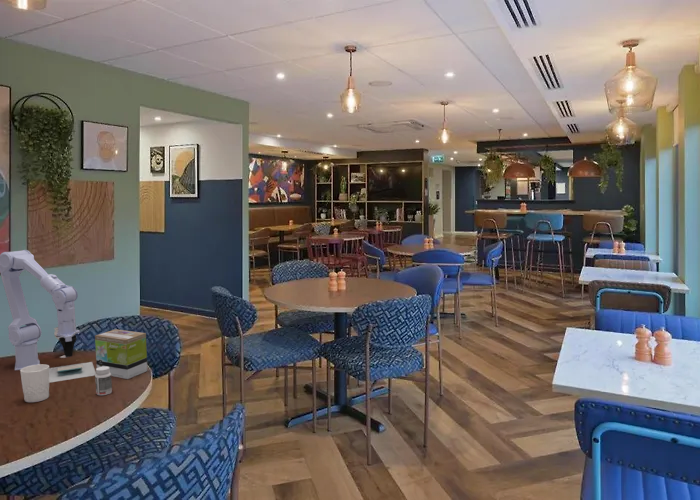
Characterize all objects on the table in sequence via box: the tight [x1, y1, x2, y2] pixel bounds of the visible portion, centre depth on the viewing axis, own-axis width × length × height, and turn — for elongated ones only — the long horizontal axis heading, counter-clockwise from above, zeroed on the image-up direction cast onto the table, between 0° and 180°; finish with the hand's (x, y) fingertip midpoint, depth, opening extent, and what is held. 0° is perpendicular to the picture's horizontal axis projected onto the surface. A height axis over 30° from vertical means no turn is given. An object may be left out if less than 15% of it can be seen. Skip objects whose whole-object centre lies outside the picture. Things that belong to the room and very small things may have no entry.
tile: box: [57, 363, 83, 372], centre depth 193 cm, size 1×8×7 cm
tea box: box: [94, 328, 148, 380], centre depth 193 cm, size 15×10×15 cm, turn 68°
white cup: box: [19, 363, 50, 403], centre depth 169 cm, size 8×8×10 cm
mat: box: [49, 361, 96, 384], centre depth 194 cm, size 18×16×1 cm
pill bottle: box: [94, 366, 113, 396], centre depth 173 cm, size 5×5×8 cm
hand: (68, 356), depth 196 cm, fingers closed
